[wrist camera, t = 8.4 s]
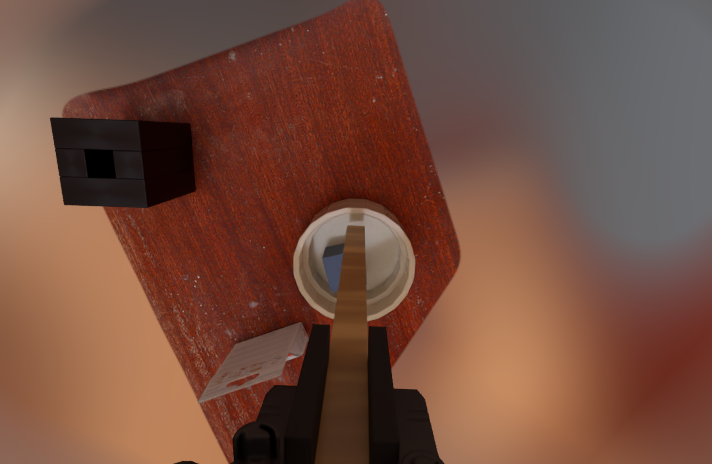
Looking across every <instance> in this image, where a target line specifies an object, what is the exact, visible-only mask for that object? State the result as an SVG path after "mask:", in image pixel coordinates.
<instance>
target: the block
mask: <svg viewBox="0 0 712 464" xmlns="http://www.w3.org/2000/svg"><path fill="white" fill-rule="evenodd" d="M344 244H345V243H342V244H338V245H333V246H329V247H325V250H324V253H323V256H322V261H323V264H324V268H325V272H326V276H327V279H328V283H329V287H330V291H331V292H335V291H338V286H339V279H340V272H341V265H342V258H343V251H344ZM366 285H367V271H366Z"/></svg>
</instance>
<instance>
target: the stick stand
mask: <svg viewBox="0 0 712 464" xmlns="http://www.w3.org/2000/svg"><path fill="white" fill-rule="evenodd" d="M50 121H51V127H52V133H53V139H54V145H55V152H56V158H57V164H58V170H59V176H61V177H60V183H61V189H62V195H63V201H64V205H79V206H108V207H136V208H148V207H151V206H154V205H157V204H160V203H163V202H166V201H169V200H171V199H174V198H177V197H180V196H183V195H186V194H189V193H192V192H195V178H194V166H193V152H192V138H191V125H190V124H189V123H172V122H155V121H139V120H110V119H81V118H50Z"/></svg>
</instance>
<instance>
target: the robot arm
mask: <svg viewBox="0 0 712 464" xmlns="http://www.w3.org/2000/svg"><path fill="white" fill-rule="evenodd" d="M329 347H330V325H320V324H313V326H312V330H311V334H310V338H309V342H308V346H307V349H306V353H305V357H304V361H303V365H302V369H301V373H300V377H299V380H298V384H297V386H286V385H274V386H273V388H272V389H271V390H270V391H269V392H268V393H267V394H266V395H265V398H264V401H263V404H262V407H261V409H260V412H259V415H258V417H257V420H256V421H254V422H250V423H248V424H246V425H244V426H242V427H241V428H240V429H239V430H238V431H236V433H235V435H234V437H233V454H234V462H232V463H231V464H315V457H316V449H317V442H318V435H319V428H320V420H321V413H322V406H323V399H324V392H325V384H326V377H327V370H328V363H329ZM392 381H393V380H392V373H391V364H390V356H389V348H388V340H387V332H386V327H373V326H369V338H368V407H369V460H370V464H444V462H443V461H442V460H441V459H440V458H439V455H438V452H437V448H436V444H435V440H434V435H433V431H432V427H431V423H430V419H429V414H428V412H427V406H426V402H425V399H424V397H423V396H422V395H421V394H420V393H419V392H418V390H415V389H414V390H413V389H394V388H393V382H392ZM175 464H198V463H195V462H193V461H181V462H178V463H175Z"/></svg>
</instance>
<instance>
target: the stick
mask: <svg viewBox="0 0 712 464" xmlns="http://www.w3.org/2000/svg"><path fill="white" fill-rule="evenodd" d="M315 464H370V460H369V407H368V337H367V294H366V252H365V226H356V225H347V229H346V237H345V244H344V251H343V258H342V265H341V272H340V279H339V286H338V293H337V301H336V308H335V315H334V322H333V329H332V336H331V343H330V350H329V363H328V370H327V377H326V384H325V392H324V399H323V406H322V413H321V420H320V428H319V435H318V442H317V449H316V457H315Z"/></svg>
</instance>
